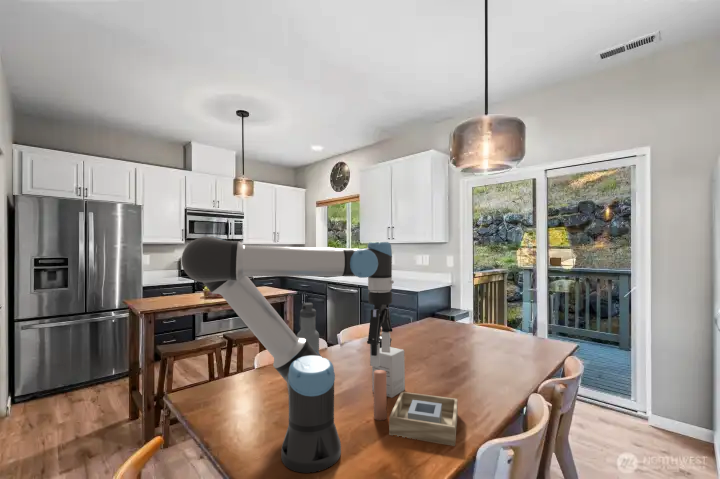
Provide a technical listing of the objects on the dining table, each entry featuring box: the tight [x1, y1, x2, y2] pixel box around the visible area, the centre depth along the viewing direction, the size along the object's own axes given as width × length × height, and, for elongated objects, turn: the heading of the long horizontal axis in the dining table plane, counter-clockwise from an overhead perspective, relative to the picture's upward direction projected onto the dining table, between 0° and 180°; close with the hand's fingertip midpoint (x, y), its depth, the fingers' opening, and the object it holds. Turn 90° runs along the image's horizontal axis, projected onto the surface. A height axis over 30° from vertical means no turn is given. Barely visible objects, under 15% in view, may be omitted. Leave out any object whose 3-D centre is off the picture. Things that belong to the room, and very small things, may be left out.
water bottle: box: [296, 302, 320, 354], centre depth 153 cm, size 10×10×28 cm
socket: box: [408, 400, 442, 424], centre depth 103 cm, size 9×9×4 cm
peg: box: [373, 370, 388, 421], centre depth 108 cm, size 4×4×14 cm
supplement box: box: [371, 346, 406, 399], centre depth 127 cm, size 9×9×15 cm
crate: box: [388, 391, 458, 447], centre depth 103 cm, size 18×18×5 cm
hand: (380, 358), depth 108 cm, fingers open, 13 cm apart
